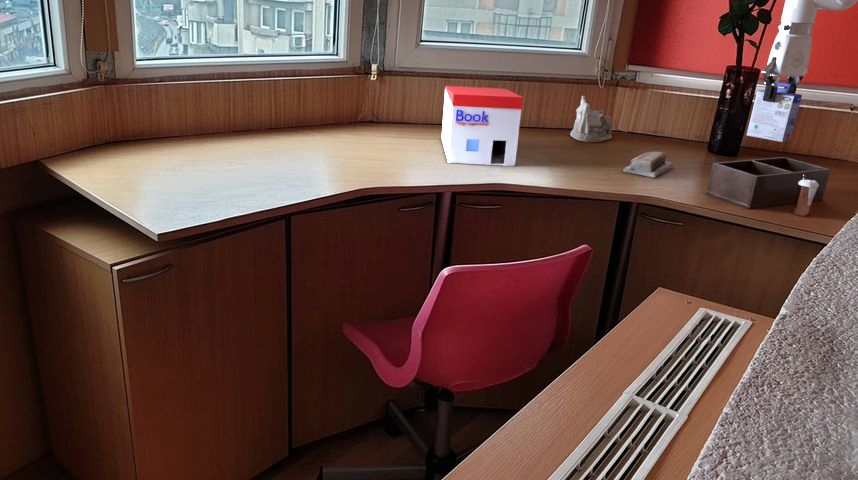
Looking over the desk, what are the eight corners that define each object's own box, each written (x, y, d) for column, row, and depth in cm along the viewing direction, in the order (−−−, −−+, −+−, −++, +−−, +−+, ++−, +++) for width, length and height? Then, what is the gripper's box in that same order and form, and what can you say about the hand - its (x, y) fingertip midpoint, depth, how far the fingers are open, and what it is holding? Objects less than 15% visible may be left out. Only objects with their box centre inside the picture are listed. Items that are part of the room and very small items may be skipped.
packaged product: (658, 162, 212) (625, 157, 217) (655, 178, 213) (622, 172, 219) (675, 152, 225) (643, 147, 231) (672, 167, 227) (640, 162, 232)
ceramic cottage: (575, 140, 258) (583, 98, 253) (566, 133, 273) (574, 93, 268) (618, 145, 258) (627, 103, 253) (607, 137, 273) (615, 97, 268)
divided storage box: (822, 200, 199) (831, 169, 196) (749, 209, 188) (757, 176, 185) (777, 186, 212) (784, 156, 208) (706, 193, 201) (712, 162, 197)
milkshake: (803, 210, 189) (813, 174, 185) (813, 217, 184) (824, 179, 180) (785, 210, 189) (795, 173, 185) (795, 216, 184) (805, 178, 180)
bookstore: (448, 163, 220) (453, 94, 212) (441, 138, 252) (445, 78, 245) (515, 166, 220) (523, 97, 212) (500, 141, 253) (506, 80, 245)
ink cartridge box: (791, 140, 192) (805, 85, 186) (783, 143, 188) (797, 86, 183) (754, 133, 198) (767, 80, 193) (745, 136, 195) (758, 81, 189)
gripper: (784, 31, 176) (766, 104, 183) (831, 31, 183) (812, 102, 190) (758, 28, 183) (742, 99, 189) (805, 29, 189) (788, 97, 196)
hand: (777, 100), depth 189 cm, fingers closed on ink cartridge box, 6 cm apart
